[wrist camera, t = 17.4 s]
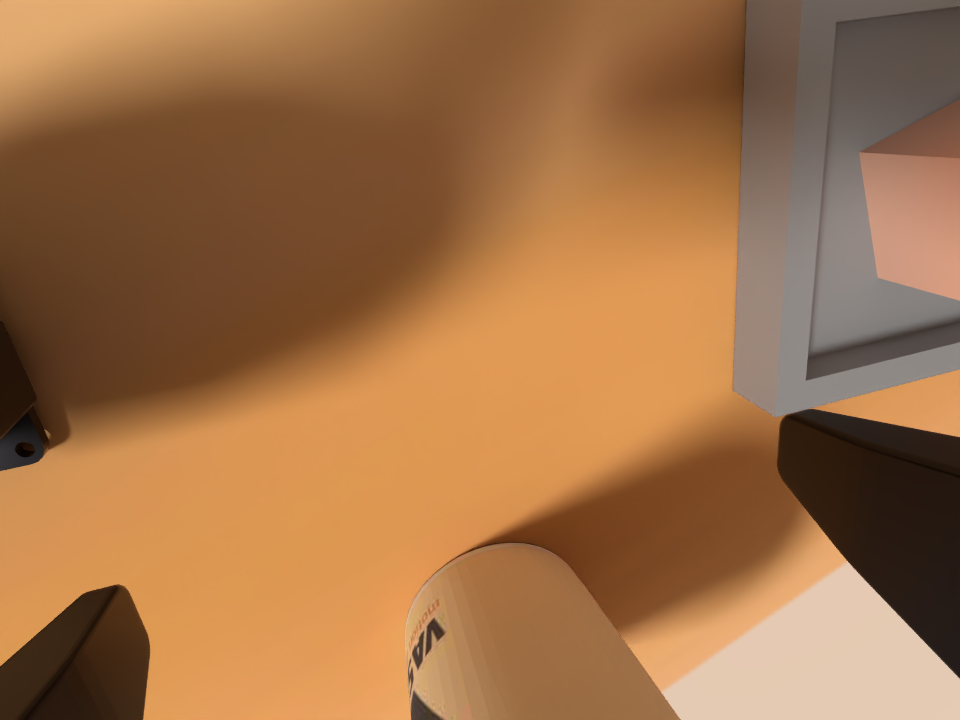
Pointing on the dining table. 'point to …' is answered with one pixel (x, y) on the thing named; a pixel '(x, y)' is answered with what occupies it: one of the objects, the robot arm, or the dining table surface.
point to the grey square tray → (833, 199)
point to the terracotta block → (917, 203)
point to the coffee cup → (520, 645)
